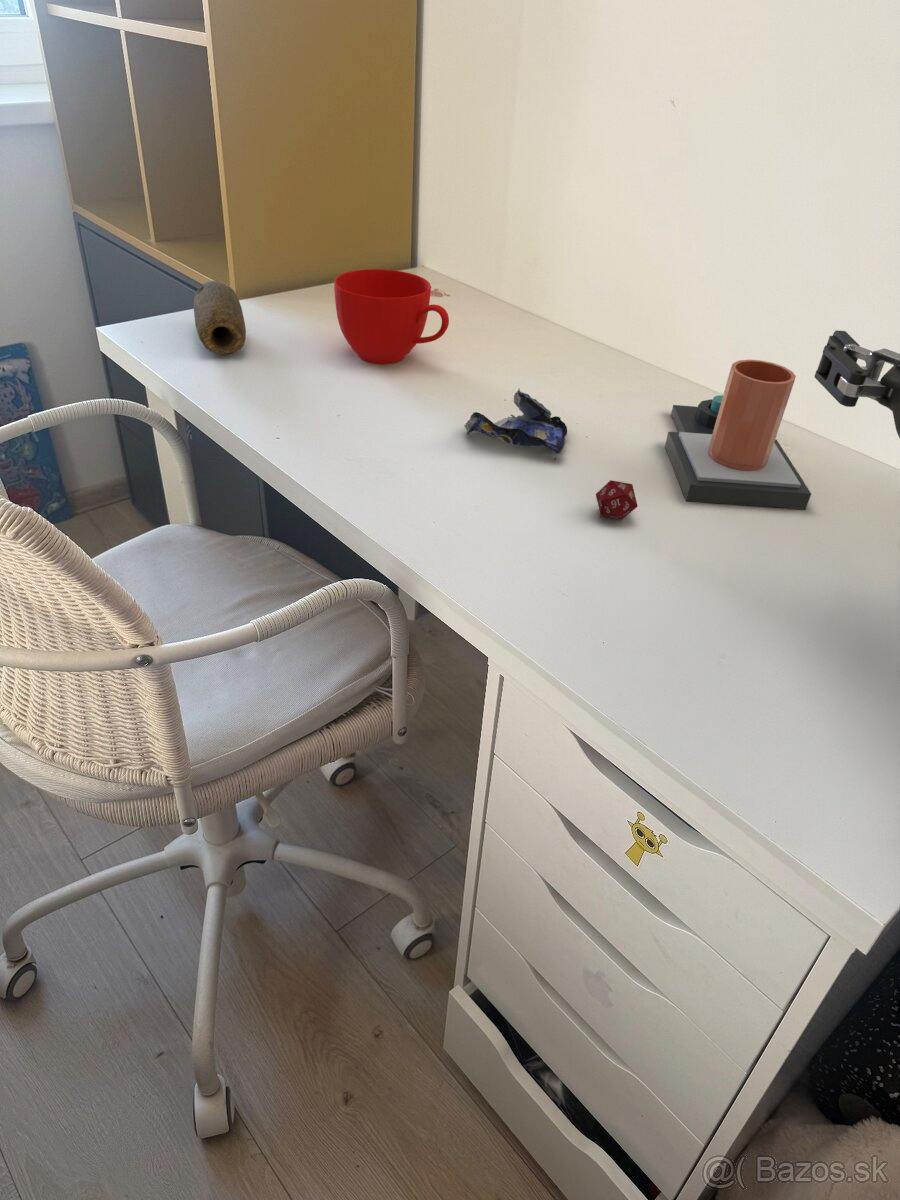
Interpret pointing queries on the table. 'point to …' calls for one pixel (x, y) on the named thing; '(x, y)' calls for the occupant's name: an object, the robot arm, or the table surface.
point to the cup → (750, 414)
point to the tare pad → (695, 418)
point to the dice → (616, 500)
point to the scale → (734, 476)
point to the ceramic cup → (384, 313)
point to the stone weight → (219, 318)
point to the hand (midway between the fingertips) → (885, 346)
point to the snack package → (523, 425)
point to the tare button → (716, 403)
